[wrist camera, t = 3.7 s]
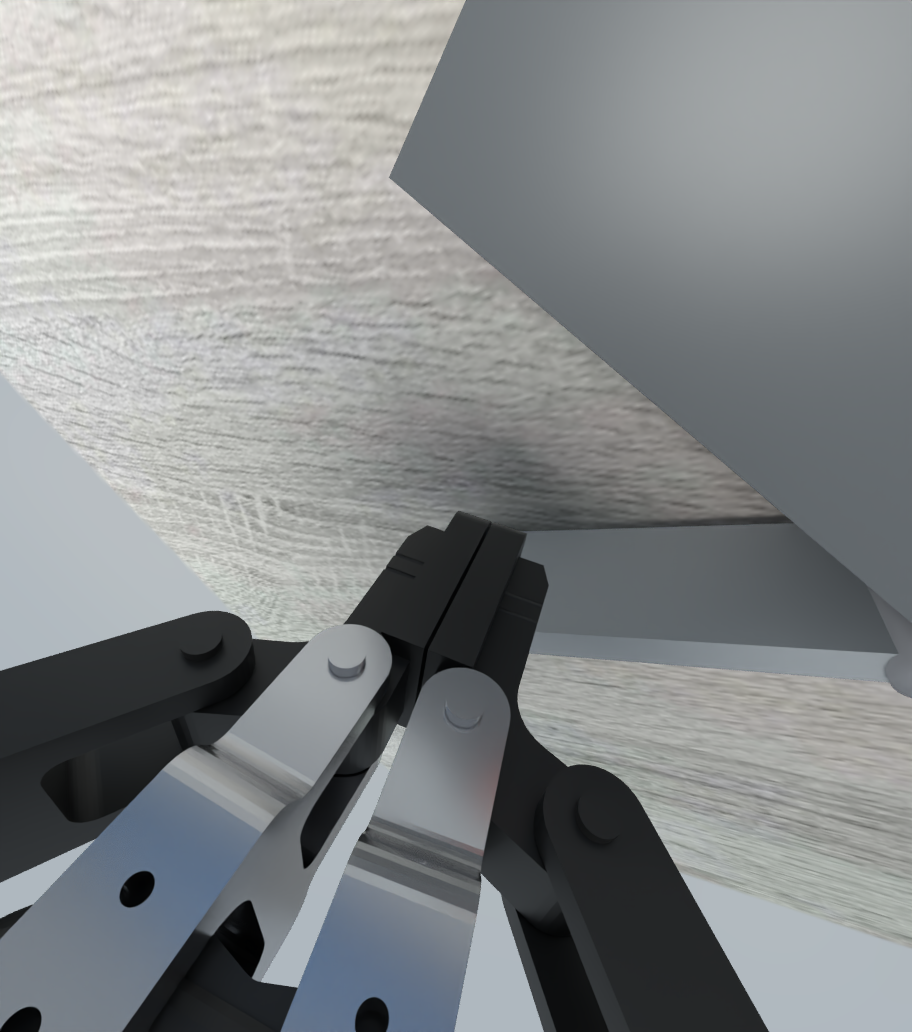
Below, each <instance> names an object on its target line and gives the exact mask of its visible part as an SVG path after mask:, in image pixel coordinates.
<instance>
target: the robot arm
mask: <svg viewBox="0 0 912 1032" xmlns="http://www.w3.org/2000/svg"><path fill="white" fill-rule="evenodd" d="M491 525H492V526H491ZM526 536H527V533H524V532H521V531H518V530H515V529H512V528H509V527H506V526H503V525H500V524H497V523H493V524H492V522H491V521H488V520H485V519H482V518H479V517H476V516H473V515H470V514H467V513H464V512H461V511H458V512H457V513H456V514H455V516H454V517H453V519H452V521H451V522H450V524H449V525H448V527H447V528H446V530H445V531H442V530H439V529H436V528H433V527H430V526H426V527H424V528H422V529H420V530H419V531H417V532H415V533H413V534H411V535H410V536H408V537H407V539H406V540H405V541H404V543H403V544H402V545H401V547H400V548H399V550H398V551H397V552H396V555H395V556H393V558H392V559H391V561H390V562H389V563H388V565H387V566H386V569H384V570H383V571H382V573H381V574H380V576H379V577H378V578H377V580H376V581H375V582H374V584H373V585H372V587H371V588H370V589H369V591H368V592H367V593H366V595H365V596H364V598H363V599H362V600H361V602H360V603H359V604H358V606H357V607H356V608H355V610H354V611H353V613H352V614H351V615H350V617H349V618H348V619H347V621H346V622H345V623H344V624H343V625H337V626H333V627H330V628H328V629H325V630H323V631H321V632H320V633H318V634H317V635H316V636H314V637H313V638H312V639H311V640H310V641H307V642H283V641H271V640H260V639H252V635H251V631H250V628H249V627H248V625H247V624H246V623H245V621H244V620H242V619H241V618H240V617H238V616H236V615H234V614H231V613H228V612H222V611H207V612H200V613H196V614H192V615H189V616H185V617H182V618H178V619H175V620H172V621H168V622H165V623H161V624H158V625H155V626H151V627H148V628H144V629H141V630H137V631H134V632H131V633H127V634H124V635H121V636H117V637H114V638H110V639H107V640H104V641H100V642H97V643H93V644H90V645H87V646H83V647H80V648H76V649H73V650H70V651H66V652H63V653H59V654H56V655H53V656H49V657H46V658H42V659H39V660H36V661H32V662H29V663H26V664H22V665H19V666H15V667H12V668H9V669H5V670H2V671H0V882H3V881H4V880H7V879H9V878H11V877H13V876H16V875H18V874H20V873H22V872H24V871H27V870H29V869H31V868H33V867H35V866H37V865H40V864H42V863H44V862H46V861H48V860H50V859H52V858H55V857H57V856H59V855H61V854H64V853H66V852H68V851H70V850H72V849H74V848H77V847H79V846H81V845H83V844H85V843H87V842H90V841H92V840H94V839H95V840H94V841H93V843H92V844H91V845H90V846H89V847H88V848H87V849H86V850H85V851H84V852H83V853H82V854H81V855H80V856H79V857H78V858H77V859H76V860H75V861H74V863H72V865H71V866H70V867H69V868H68V869H67V870H66V871H65V872H64V873H63V874H62V875H61V876H60V877H59V878H58V879H57V880H56V881H55V882H54V883H53V884H52V885H51V887H50V888H49V889H48V890H47V891H46V892H45V893H44V894H43V895H42V896H41V897H40V898H39V899H38V900H37V901H36V902H35V903H34V904H33V905H30V906H28V907H25V908H23V909H20V910H18V911H15V912H13V913H11V914H9V915H7V916H5V917H3V918H0V1032H454V1029H455V1025H456V1019H457V1014H458V1009H459V1004H460V999H461V993H462V988H463V983H464V978H465V973H466V968H467V963H468V958H469V953H470V947H471V942H472V937H473V932H474V927H475V922H476V916H477V910H478V904H479V898H480V890H481V876H480V875H481V874H482V875H483V876H484V877H485V878H486V879H487V880H488V881H489V882H490V883H491V884H492V885H493V886H494V887H495V888H496V889H497V890H498V891H499V892H500V893H501V895H502V901H503V904H504V908H505V911H506V914H507V917H508V921H509V924H510V927H511V930H512V933H513V936H514V939H515V942H516V946H517V949H518V952H519V955H520V958H521V961H522V964H523V967H524V970H525V974H526V977H527V980H528V983H529V986H530V989H531V992H532V995H533V999H534V1002H535V1005H536V1008H537V1011H538V1014H539V1017H540V1020H541V1024H542V1026H543V1030H544V1032H769V1031H768V1029H767V1027H766V1026H765V1024H764V1022H763V1020H762V1019H761V1017H760V1015H759V1014H758V1011H757V1010H756V1008H755V1006H754V1004H753V1003H752V1001H751V999H750V997H749V996H748V994H747V992H746V991H745V988H744V987H743V985H742V983H741V981H740V980H739V978H738V976H737V974H736V972H735V971H734V969H733V967H732V965H731V963H730V962H729V960H728V958H727V956H726V955H725V953H724V951H723V949H722V947H721V946H720V944H719V942H718V940H717V939H716V937H715V935H714V933H713V931H712V930H711V928H710V926H709V924H708V923H707V921H706V919H705V917H704V916H703V914H702V912H701V910H700V908H699V907H698V905H697V903H696V901H695V899H694V898H693V896H692V894H691V892H690V890H689V889H688V887H687V885H686V883H685V882H684V880H683V878H682V876H681V874H680V873H679V871H678V869H677V867H676V866H675V864H674V862H673V860H672V858H671V857H670V855H669V853H668V851H667V850H666V848H665V846H664V844H663V842H662V841H661V839H660V837H659V835H658V834H657V832H656V830H655V828H654V826H653V825H652V823H651V821H650V819H649V818H648V816H647V814H646V812H645V810H644V809H643V807H642V805H641V803H640V802H639V800H638V799H637V797H636V796H635V794H634V793H633V792H632V791H631V790H630V788H629V787H628V786H627V785H626V784H625V783H624V782H622V781H621V780H620V779H619V778H617V777H616V776H615V775H613V774H612V773H610V772H608V771H606V770H604V769H601V768H599V767H596V766H591V765H573V766H569V767H567V766H566V765H565V764H564V763H563V762H561V761H560V760H559V759H558V758H556V757H555V756H554V755H553V754H551V753H550V752H549V751H548V750H547V749H545V748H544V747H543V746H542V745H541V744H540V743H539V742H538V741H536V740H535V738H534V737H533V736H532V735H531V734H530V732H529V731H528V729H527V728H526V726H525V724H524V722H523V720H522V718H521V715H520V712H519V709H518V702H517V694H518V689H519V685H520V681H521V678H522V674H523V671H524V668H525V664H526V661H527V658H528V654H529V651H530V647H531V644H532V641H533V637H534V634H535V630H536V627H537V623H538V620H539V617H540V614H541V610H542V607H543V603H544V600H545V597H546V593H547V590H548V587H549V584H548V580H547V576H546V572H545V568H544V565H542V564H539V563H536V562H533V561H530V560H527V559H524V558H521V553H522V550H523V547H524V543H525V540H526ZM397 724H399V725H401V726H403V727H405V728H406V730H405V733H404V735H403V738H402V740H401V743H400V746H399V748H398V751H397V753H396V756H395V759H394V761H393V764H392V766H391V769H390V772H389V775H388V777H387V779H386V782H385V785H384V787H383V790H382V792H381V795H380V797H379V800H378V803H377V805H376V808H375V810H374V813H373V815H372V818H371V820H370V822H369V825H368V827H367V829H366V830H365V831H364V832H363V833H362V834H361V836H360V837H359V839H358V841H357V843H356V845H355V847H354V849H353V851H352V854H351V856H350V858H349V860H348V863H347V865H346V868H345V871H344V873H343V875H342V878H341V881H340V883H339V885H338V888H337V890H336V893H335V895H334V898H333V900H332V903H331V906H330V908H329V910H328V913H327V916H326V918H325V921H324V923H323V926H322V928H321V931H320V933H319V936H318V938H317V941H316V943H315V946H314V948H313V951H312V953H311V956H310V958H309V961H308V964H307V966H306V969H305V971H304V974H303V976H302V979H301V981H300V984H299V986H298V988H296V987H289V986H282V985H275V984H269V983H262V982H261V980H262V978H263V976H264V975H265V973H266V971H267V970H268V968H269V966H270V964H271V963H272V961H273V959H274V957H275V956H276V954H277V952H278V951H279V949H280V947H281V945H282V944H283V942H284V940H285V938H286V936H287V935H288V933H289V931H290V930H291V927H292V926H293V924H294V922H295V920H296V918H297V916H298V914H299V912H300V910H301V907H302V905H303V903H304V900H305V897H306V895H307V891H308V889H309V886H310V883H311V881H312V879H313V877H314V875H315V873H316V871H317V869H318V867H319V865H320V864H321V862H322V860H323V859H324V857H325V855H326V853H327V852H328V850H329V848H330V847H331V845H332V843H333V841H334V840H335V838H336V836H337V835H338V833H339V831H340V830H341V828H342V826H343V825H344V823H345V821H346V819H347V818H348V816H349V814H350V813H351V811H352V809H353V807H354V806H355V804H356V802H357V800H358V799H359V797H360V796H361V794H362V792H363V790H364V789H365V787H366V785H367V784H368V782H369V780H370V779H371V777H372V775H373V774H374V772H375V770H376V768H377V767H378V765H379V763H380V760H381V757H382V752H383V751H384V749H385V747H386V745H387V743H388V741H389V739H390V737H391V735H392V733H393V731H394V729H395V727H396V725H397Z"/></svg>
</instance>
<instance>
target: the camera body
mask: <svg viewBox="0 0 912 1032" xmlns="http://www.w3.org/2000/svg"><path fill="white" fill-rule="evenodd" d="M389 178H390V179H391V180H393V181H394V182H395V183H396V184H397V185H398V186H400V187H401V188H402V189H403V190H404V191H406V192H407V193H408V194H409V195H410V196H411V197H413V198H414V199H415V200H416V201H417V202H418V203H420V204H421V205H422V206H423V207H424V208H425V209H427V210H428V211H429V212H430V213H431V214H432V215H434V216H435V217H436V218H437V219H438V220H440V221H441V222H442V223H443V224H444V225H445V226H447V227H448V228H449V229H450V230H451V231H452V232H454V233H455V234H456V235H457V236H458V237H459V238H461V239H462V240H463V241H464V242H465V243H466V244H468V245H469V246H470V247H471V248H472V249H473V250H475V251H476V252H477V253H478V254H479V255H481V256H482V257H483V258H484V259H485V260H486V261H488V262H489V263H490V264H491V265H492V266H493V267H495V268H496V269H497V270H498V271H499V272H500V273H502V274H503V275H504V276H505V277H506V278H507V279H509V280H510V281H511V282H512V283H513V284H515V285H516V286H517V287H518V288H519V289H520V290H522V291H523V292H524V293H525V294H526V295H527V296H529V297H530V298H531V299H532V300H533V301H534V302H536V303H537V304H538V305H539V306H540V307H541V308H543V309H544V310H545V311H546V312H547V313H549V314H550V315H551V316H552V317H553V318H554V319H556V320H557V321H558V322H559V323H560V324H561V325H563V326H564V327H565V328H566V329H567V330H568V331H570V332H571V333H572V334H573V335H574V336H575V337H577V338H578V339H579V340H580V341H581V342H583V343H584V344H585V345H586V346H587V347H588V348H590V349H591V350H592V351H593V352H594V353H595V354H597V355H598V356H599V357H600V358H601V359H602V360H604V361H605V362H606V363H607V364H608V365H609V366H611V367H612V368H613V369H614V370H615V371H616V372H618V373H619V374H620V375H621V376H622V377H624V378H625V379H626V380H627V381H628V382H629V383H631V384H632V385H633V386H634V387H635V388H636V389H638V390H639V391H640V392H641V393H642V394H643V395H645V396H646V397H647V398H648V399H649V400H650V401H652V402H653V403H654V404H655V405H656V406H658V407H659V408H660V409H661V410H662V411H663V412H665V413H666V414H667V415H668V416H669V417H670V418H672V419H673V420H674V421H675V422H676V423H677V424H679V425H680V426H681V427H682V428H683V429H684V430H686V431H687V432H688V433H689V434H690V435H692V436H693V437H694V438H695V439H696V440H697V441H699V442H700V443H701V444H702V445H703V446H704V447H706V448H707V449H708V450H709V451H710V452H711V453H713V454H714V455H715V456H716V457H717V458H718V459H720V460H721V461H722V462H723V463H724V464H726V465H727V466H728V467H729V468H730V469H731V470H733V471H734V472H735V473H736V474H737V475H738V476H740V477H741V478H742V479H743V480H744V481H745V482H747V483H748V484H749V485H750V486H751V487H752V488H754V489H755V490H756V491H757V492H758V493H759V494H761V495H762V496H763V497H764V498H765V499H767V500H768V501H769V502H770V503H771V504H772V505H774V506H775V507H776V508H777V509H778V510H779V511H781V512H782V513H783V514H784V515H785V516H786V517H788V518H789V519H790V520H791V521H792V522H793V523H795V524H796V525H797V526H798V527H799V528H801V529H802V530H803V531H804V532H805V533H806V534H808V535H809V536H810V537H811V538H812V539H813V540H815V541H816V542H817V543H818V544H819V545H820V546H822V547H823V548H824V549H825V550H826V551H827V552H829V553H830V554H831V555H832V556H833V557H835V558H836V559H837V560H838V561H839V562H840V563H842V564H843V565H844V566H845V567H846V568H847V569H849V570H850V571H851V572H852V573H853V574H854V575H856V576H857V577H858V578H859V579H860V580H861V581H863V582H864V583H865V584H866V585H867V586H869V587H870V588H871V589H872V590H873V591H874V592H876V593H877V594H878V595H879V596H880V597H881V598H883V599H884V600H885V601H886V602H887V603H888V604H890V605H891V606H892V607H893V608H894V609H895V610H897V611H898V612H899V613H900V614H901V615H902V616H904V617H905V618H906V619H907V620H908V621H910V622H911V623H912V0H466V1H465V4H464V6H463V8H462V11H461V13H460V15H459V17H458V20H457V22H456V24H455V27H454V29H453V31H452V34H451V36H450V38H449V41H448V43H447V45H446V48H445V50H444V52H443V54H442V57H441V59H440V61H439V64H438V66H437V68H436V71H435V73H434V75H433V78H432V80H431V82H430V84H429V87H428V89H427V91H426V94H425V96H424V98H423V101H422V103H421V105H420V108H419V110H418V112H417V114H416V117H415V119H414V121H413V124H412V126H411V128H410V131H409V133H408V135H407V138H406V140H405V142H404V144H403V147H402V149H401V151H400V154H399V156H398V158H397V161H396V163H395V165H394V168H393V170H392V172H391V174H390V177H389Z"/></svg>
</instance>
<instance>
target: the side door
mask: <svg viewBox="0 0 912 1032" xmlns="http://www.w3.org/2000/svg"><path fill="white" fill-rule="evenodd" d="M521 532H524V533H527V536H526V540H525V543H524V547H523V550H522V553H521V558H524V559H527V560H530V561H533V562H536V563H539V564H542V565H544V568H545V572H546V576H547V580H548V584H549V587H548V590H547V593H546V597H545V600H544V603H543V607H542V610H541V614H540V617H539V620H538V623H537V627H536V630H535V634H534V637H533V641H532V644H531V647H530V651H529V653H531V654H543V655H556V656H568V657H581V658H593V659H605V660H618V661H630V662H643V663H655V664H667V665H680V666H692V667H704V668H717V669H729V670H742V671H754V672H766V673H779V674H791V675H804V676H816V677H828V678H841V679H853V680H865V681H878V682H890V684H891V686H892V687H893V688H894V689H895V690H896V691H897V692H899V693H901V694H903V695H905V696H907V697H910V698H912V623H911V622H910V621H908V620H907V619H906V618H905V617H904V616H902V615H901V614H900V613H899V612H898V611H897V610H895V609H894V608H893V607H892V606H891V605H890V604H888V603H887V602H886V601H885V600H884V599H883V598H881V597H880V596H879V595H878V594H877V593H876V592H874V591H873V590H872V589H871V588H870V587H869V586H867V585H866V584H865V583H864V582H863V581H861V580H860V579H859V578H858V577H857V576H856V575H854V574H853V573H852V572H851V571H850V570H849V569H847V568H846V567H845V566H844V565H843V564H842V563H840V562H839V561H838V560H837V559H836V558H835V557H833V556H832V555H831V554H830V553H829V552H827V551H826V550H825V549H824V548H823V547H822V546H820V545H819V544H818V543H817V542H816V541H815V540H813V539H812V538H811V537H810V536H809V535H808V534H806V533H805V532H804V531H803V530H802V529H801V528H799V527H798V526H797V525H796V524H795V523H784V524H751V525H718V526H685V527H652V528H619V529H586V530H553V531H521Z"/></svg>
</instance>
